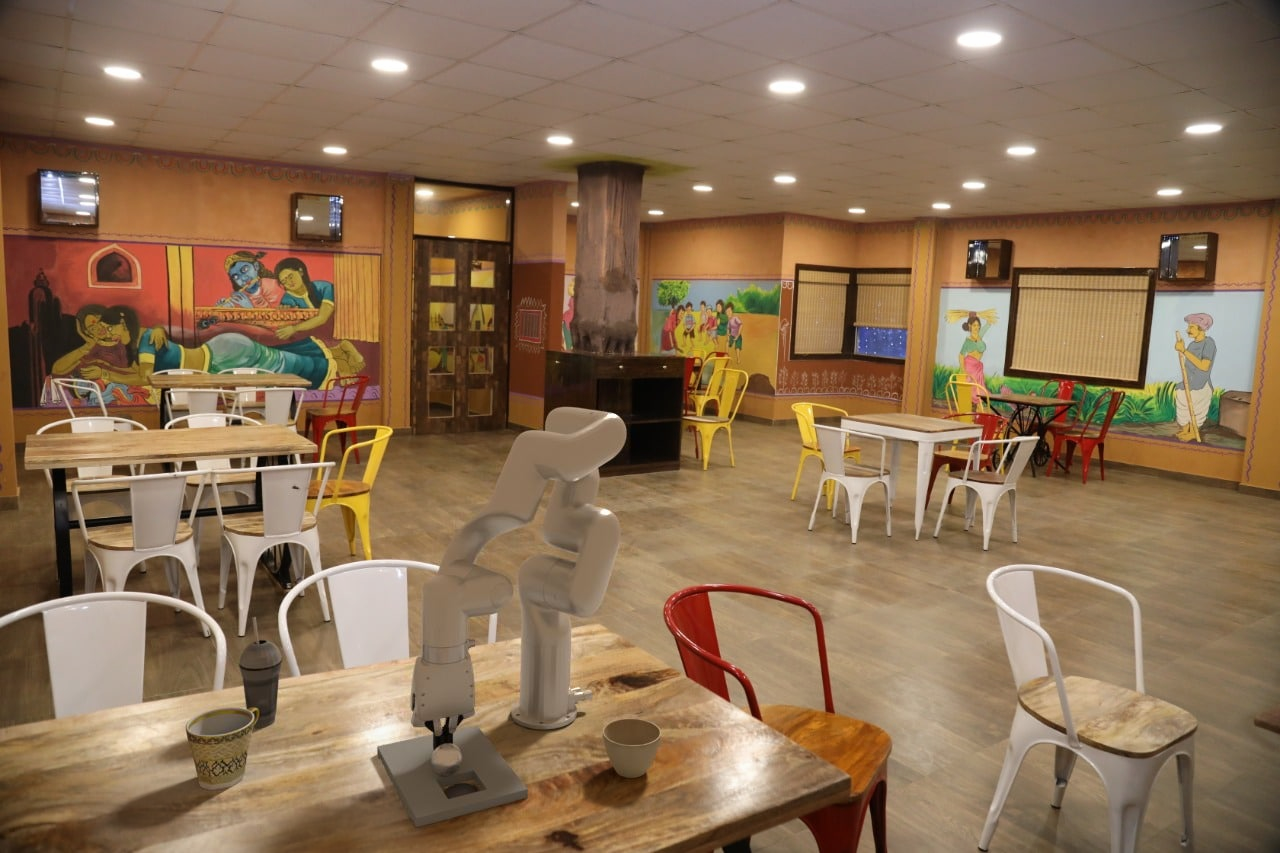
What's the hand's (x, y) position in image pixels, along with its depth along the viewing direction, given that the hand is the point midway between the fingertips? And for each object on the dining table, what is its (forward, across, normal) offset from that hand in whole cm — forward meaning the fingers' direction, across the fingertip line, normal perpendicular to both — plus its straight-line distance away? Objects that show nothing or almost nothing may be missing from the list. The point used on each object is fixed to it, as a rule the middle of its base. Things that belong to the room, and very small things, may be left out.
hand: (442, 753), depth 147 cm
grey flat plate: (+2, 0, +3) cm, 4 cm away
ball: (-2, +1, +5) cm, 5 cm away
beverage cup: (+3, +25, -30) cm, 39 cm away
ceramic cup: (+3, +32, -12) cm, 34 cm away
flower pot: (+3, -28, +15) cm, 32 cm away
